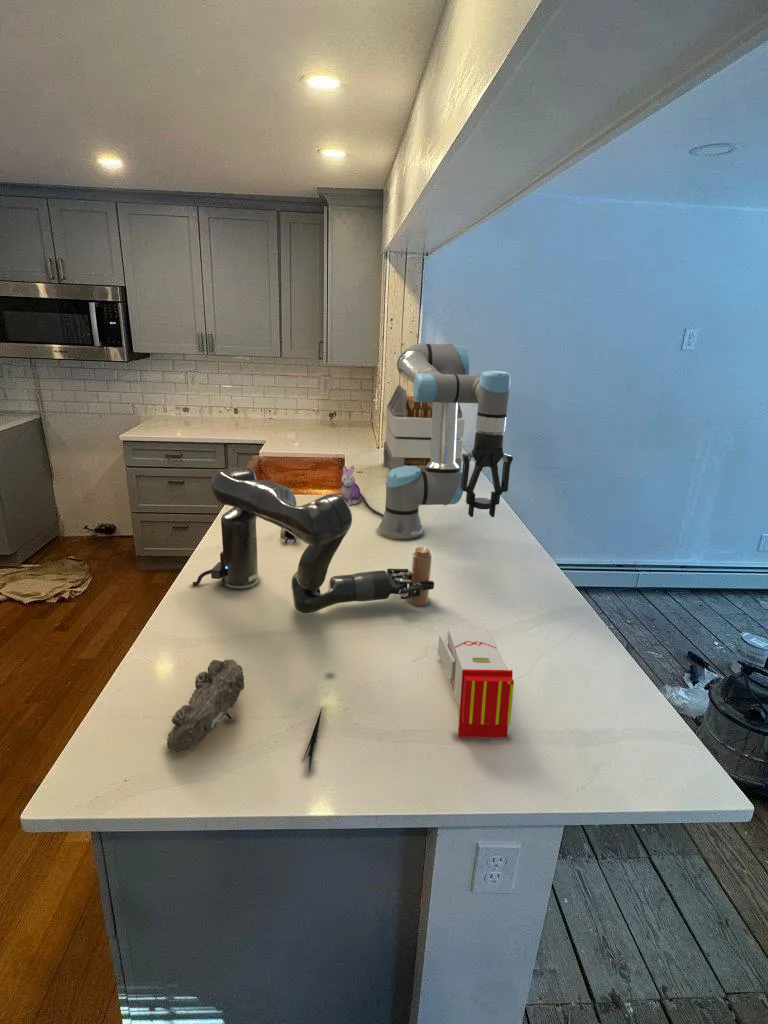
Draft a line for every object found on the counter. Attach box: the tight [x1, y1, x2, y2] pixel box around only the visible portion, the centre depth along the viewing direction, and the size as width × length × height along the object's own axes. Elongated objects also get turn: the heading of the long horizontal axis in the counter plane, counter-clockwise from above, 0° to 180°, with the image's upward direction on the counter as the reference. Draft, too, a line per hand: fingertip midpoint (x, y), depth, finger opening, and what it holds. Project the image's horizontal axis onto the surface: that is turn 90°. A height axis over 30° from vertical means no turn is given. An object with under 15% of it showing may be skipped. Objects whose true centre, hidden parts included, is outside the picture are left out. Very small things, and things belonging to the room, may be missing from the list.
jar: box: [409, 546, 432, 607], centre depth 152 cm, size 5×5×15 cm
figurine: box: [340, 464, 362, 506], centre depth 227 cm, size 9×10×15 cm
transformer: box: [383, 384, 465, 472], centre depth 268 cm, size 34×33×41 cm
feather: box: [301, 673, 332, 771], centre depth 108 cm, size 2×28×2 cm
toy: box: [437, 628, 515, 738], centre depth 117 cm, size 12×13×30 cm
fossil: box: [166, 658, 245, 754], centre depth 106 cm, size 22×10×15 cm
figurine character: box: [279, 528, 299, 545], centre depth 191 cm, size 7×8×15 cm
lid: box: [474, 497, 493, 510], centre depth 155 cm, size 5×5×2 cm
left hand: (429, 580), depth 153 cm, fingers closed on jar, 5 cm apart
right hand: (481, 515), depth 156 cm, fingers closed on lid, 5 cm apart
